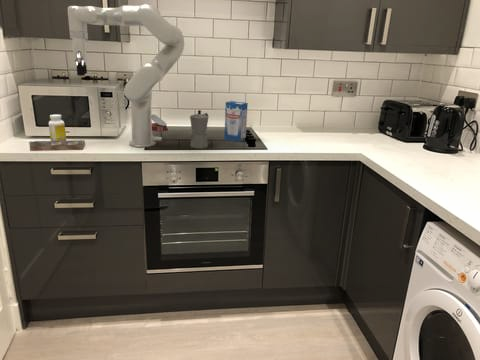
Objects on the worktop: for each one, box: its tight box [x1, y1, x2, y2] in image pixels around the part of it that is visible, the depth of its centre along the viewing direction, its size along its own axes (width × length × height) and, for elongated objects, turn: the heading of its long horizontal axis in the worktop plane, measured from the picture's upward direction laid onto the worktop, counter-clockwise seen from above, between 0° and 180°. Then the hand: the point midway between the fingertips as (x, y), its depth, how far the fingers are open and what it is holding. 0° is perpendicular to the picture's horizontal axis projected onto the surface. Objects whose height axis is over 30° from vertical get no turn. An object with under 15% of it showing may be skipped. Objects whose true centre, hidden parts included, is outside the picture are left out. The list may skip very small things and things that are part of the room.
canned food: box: [151, 113, 167, 132], centre depth 226 cm, size 11×10×10 cm
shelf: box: [28, 139, 86, 152], centre depth 181 cm, size 22×10×4 cm, turn 105°
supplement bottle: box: [48, 114, 67, 141], centre depth 180 cm, size 7×7×13 cm
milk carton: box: [223, 100, 249, 143], centre depth 208 cm, size 10×6×20 cm, turn 62°
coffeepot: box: [189, 109, 209, 149], centre depth 193 cm, size 15×9×18 cm, turn 157°
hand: (82, 74), depth 183 cm, fingers open, 9 cm apart
